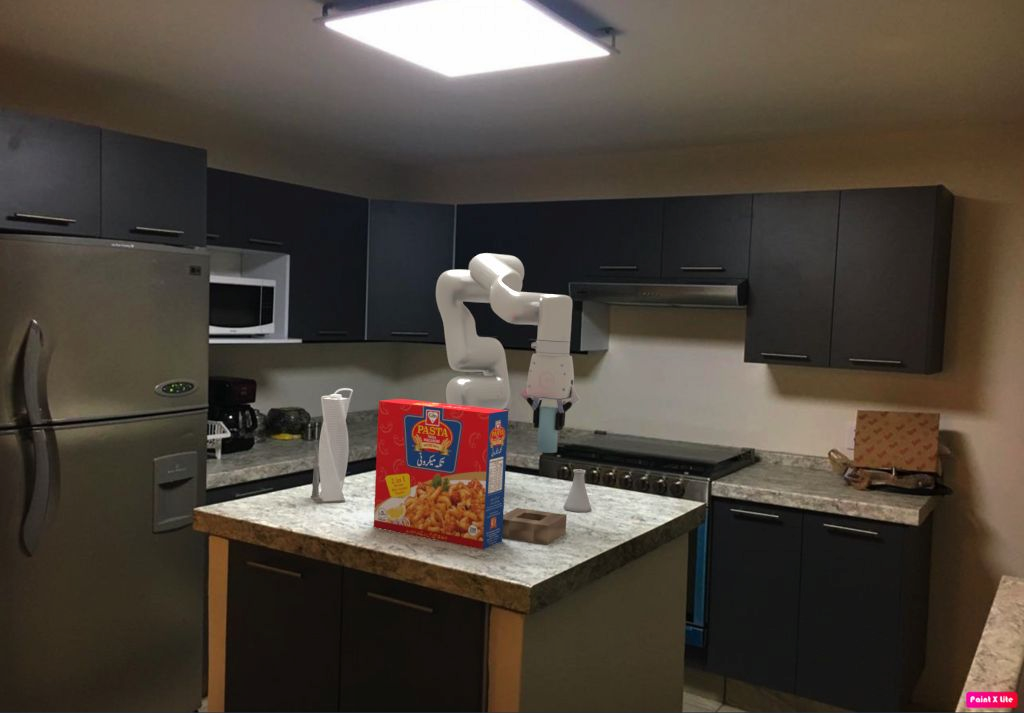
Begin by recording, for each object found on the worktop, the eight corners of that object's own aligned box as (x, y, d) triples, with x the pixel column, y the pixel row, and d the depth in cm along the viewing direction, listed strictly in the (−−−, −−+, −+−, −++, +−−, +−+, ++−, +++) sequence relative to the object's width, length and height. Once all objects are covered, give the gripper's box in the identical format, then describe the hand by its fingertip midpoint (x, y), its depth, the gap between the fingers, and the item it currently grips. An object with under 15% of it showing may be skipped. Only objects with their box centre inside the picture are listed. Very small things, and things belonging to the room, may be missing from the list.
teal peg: (534, 451, 192) (536, 407, 192) (541, 448, 196) (544, 405, 196) (552, 453, 190) (555, 409, 190) (559, 450, 195) (562, 407, 194)
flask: (590, 514, 209) (592, 473, 209) (561, 511, 211) (563, 471, 210) (593, 508, 216) (595, 469, 216) (565, 505, 218) (567, 466, 217)
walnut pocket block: (495, 536, 183) (496, 518, 183) (516, 525, 194) (516, 507, 194) (547, 544, 178) (548, 525, 178) (565, 532, 189) (566, 514, 189)
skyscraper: (343, 495, 216) (348, 386, 215) (352, 502, 209) (356, 389, 208) (310, 497, 212) (314, 386, 211) (317, 504, 205) (322, 389, 204)
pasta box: (373, 527, 186) (378, 401, 185) (395, 520, 193) (400, 398, 192) (482, 549, 172) (489, 413, 171) (502, 541, 179) (508, 410, 178)
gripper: (512, 346, 192) (508, 426, 193) (582, 352, 185) (577, 434, 186) (525, 345, 199) (520, 422, 200) (593, 351, 192) (588, 430, 193)
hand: (548, 427), depth 193 cm, fingers closed on teal peg, 4 cm apart
